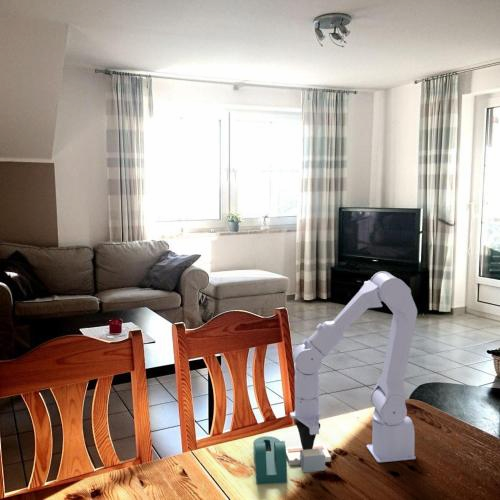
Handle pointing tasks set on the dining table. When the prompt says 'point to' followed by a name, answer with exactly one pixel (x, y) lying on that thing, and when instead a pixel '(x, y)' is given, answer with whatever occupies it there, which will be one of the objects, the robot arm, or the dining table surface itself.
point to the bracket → (270, 460)
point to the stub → (312, 460)
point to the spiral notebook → (294, 454)
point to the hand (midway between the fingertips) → (307, 449)
